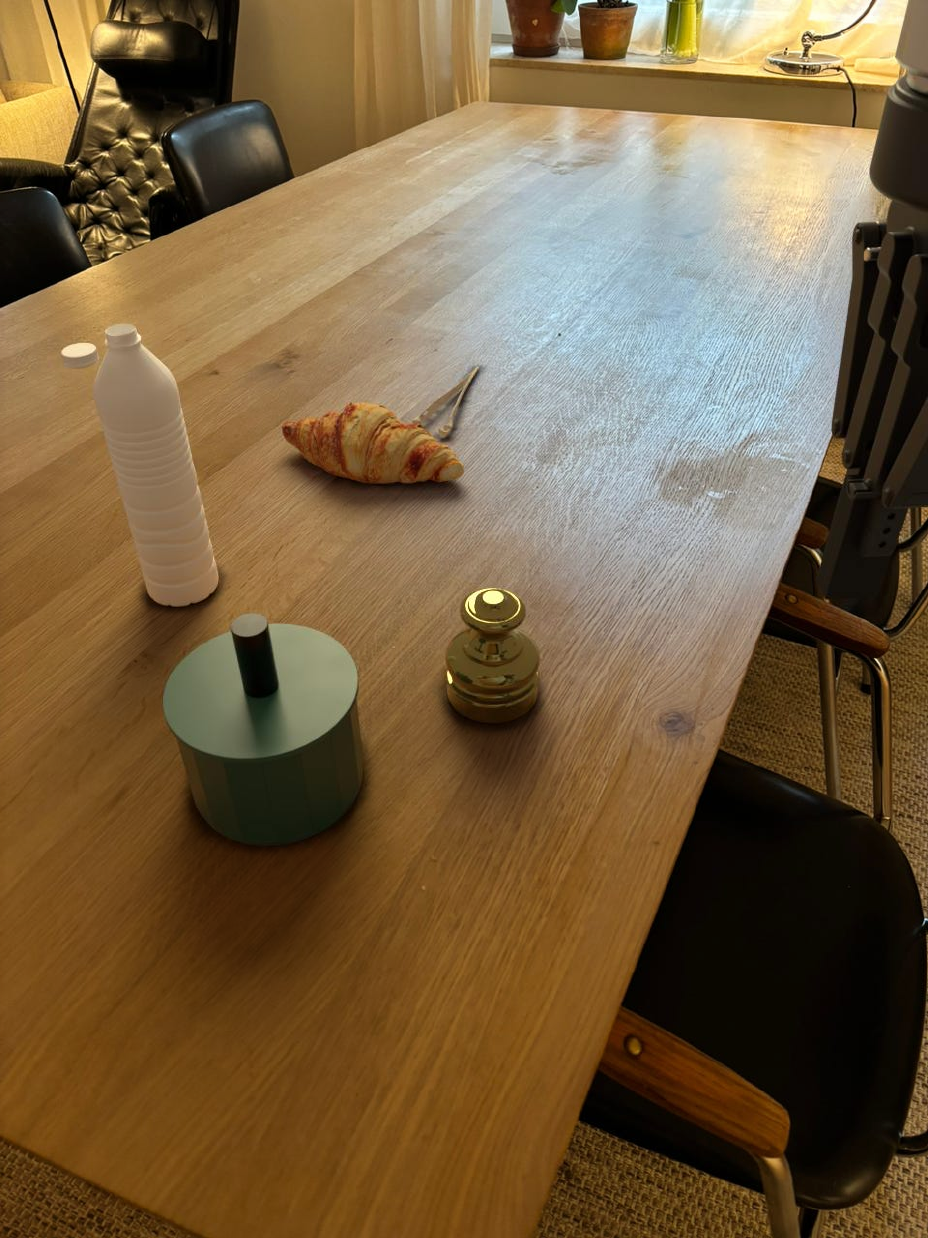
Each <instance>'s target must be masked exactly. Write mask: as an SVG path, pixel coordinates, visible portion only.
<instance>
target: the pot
mask: <svg viewBox="0 0 928 1238" xmlns="http://www.w3.org/2000/svg"><path fill="white" fill-rule="evenodd" d="M357 699H358V698H357ZM357 699H356V702H355V704H354V707H353V709H352V711H351V713H350V714H349V716H348V717H347V718H346V720H345V721H344V722H343V723H342V725H341V726H340V727H339V728H338V729H337V730H336V731H335V732H333V733H332V734H331V735H330V736H329V737H327V738H326V739H325V740H323V741H322V742H320V743H319V744H317V745H315V746H313V747H311V748H310V749H308V750H306V751H303V752H301V753H298V754H296V755H293V756H290V757H287V758H284V759H280V760H275V761H271V762H264V763H255V764H237V763H226V762H221V761H216V760H213V759H210V758H206V757H203V756H201V755H199V754H197V753H195V752H193V751H191V750H190V749H188V748H187V747H185V746H184V745H183V744H182V743H181V742H180V741H178V740H177V739H176V743H177V746H178V749H179V752H180V756H181V760H182V763H183V766H184V769H185V773H186V777H187V781H188V783H189V787H190V791H191V794H192V797H193V801H194V805H195V807H196V809H197V810H198V812H199V813H200V815H201V817H202V818H203V820H204V821H205V823H206V824H207V825H209V827H211V828H212V829H213V830H214V831H216V832H217V833H219V835H221V836H223V837H225V838H227V839H229V840H232V841H234V842H235V841H236V842H238V843H240V844H241V843H242V844H246V845H251V846H260V847H272V846H281V845H287V844H292V843H298V842H299V841H304V840H306V839H309V838H311V837H314V836H315V835H317V834H319V833H321V832H323V831H324V830H326V829H328V828H330V827H331V826H332V825H334V824H335V823H336V822H338V820H340V819H341V818H342V817H343V816H344V815H345V814H347V811H348V810H349V809H350V808H351V807H352V806H353V804H354V802H355V800H356V799H357V797H358V795H359V792H360V790H361V787H362V783H363V779H364V778H363V777H364V767H365V761H364V752H363V744H362V735H361V734H362V733H361V726H360V716H359V708H358V701H357Z"/></svg>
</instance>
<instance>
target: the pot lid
mask: <svg viewBox="0 0 928 1238" xmlns="http://www.w3.org/2000/svg"><path fill="white" fill-rule="evenodd" d="M359 687H360V682H359V672H358V668H357V665H356V662H355V660H354V658H353V656H352V655H351V653H350V652H349V651H348V649H346V648H345V646H344V645H342V643H340V642H339V641H338V640H337V639H335V638H334V637H332V636H330V635H329V634H326V632H323V631H320V630H317V629H315V628H311V627H309V626H305V625H299V624H293V623H283V622H281V623H280V622H279V623H278V622H275V623H269V621H268V619H267V618H266V617H265V616H264V615H263V614H261V613H255V612H248V613H244V614H240V615H239V616H237V617H235V618H234V619H233V620H232V622H231V623H230V630H229V631H227V632H223V633H221V634H219V635H216V636H215V637H212V638H210V639H209V640H207V641H205V642H203V643H201V644H200V645H199V646H197V647H196V648H195V649H193V650H191V651H190V652H189V653H188V654H187V655H186V656H184V658H182V660H181V661H179V662H178V664H177V665H176V666H175V667H174V669H173V670H172V672H171V673H170V675H169V677H168V679H167V681H166V684H165V687H164V689H163V693H162V700H161V701H162V702H161V703H162V711H163V715H164V720H165V723H166V725H167V727H168V729H169V731H170V732H171V733H172V735H173V736H174V738H175V739H176V741H177V740H178V741H180V742H181V743H182V744H183V745H184V746H185V747H187V748H188V749H190V750H191V751H193V752H195V753H197V754H199V755H201V756H203V757H206V758H210V759H213V760H216V761H221V762H226V763H237V764H255V763H264V762H271V761H275V760H280V759H284V758H287V757H290V756H293V755H296V754H298V753H301V752H303V751H306V750H308V749H310V748H311V747H313V746H315V745H317V744H319V743H320V742H322V741H323V740H325V739H326V738H327V737H329V736H330V735H331V734H332V733H333V732H335V731H336V730H337V729H338V728H339V727H340V726H341V725H342V723H343V722H344V721H345V720H346V718H347V717H348V716H349V714H350V713H351V711H352V709H353V707H354V704H355V702H356V699H358V695H359Z"/></svg>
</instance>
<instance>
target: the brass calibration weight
mask: <svg viewBox="0 0 928 1238" xmlns="http://www.w3.org/2000/svg"><path fill="white" fill-rule="evenodd" d="M526 607H527V606H526V603H525V602H524V600H523V598H522V597H520V596H519V595H518V594H516V593H515V592H514V591H511V590H509V589H505V588H500V587H485V588H481V589H477V590H474V591H472V592H471V593H469V594H468V595H466V596H465V597H464V598H463V600H462V601H461V604H460V607H459V616H460V618H461V620H462V622H463V623H464V624H465V626H467V627H466V628H464V629H462V630H460V631H459V632H458V633H457V634H455V635H454V636H453V637H452V639H451V640H450V641H449V642H448V644H447V646H446V650H445V655H444V661H445V667H446V669H445V681H446V692H447V693H446V694H447V698H448V701H449V703H450V705H451V706H452V708H453V709H455V710H456V711H457V712H458V713H459V714H460V715H462V716H464V717H466V718H468V719H469V720H473V721H475V722H478V723H479V722H480V723H484V724H500V723H507V722H511V721H514V720H516V719H518V718H521V717H523V715H525V714H527V713H528V712H529V711H530V710H531V709H532V707H534V705H535V704H536V701H537V699H538V692H539V683H540V682H539V681H540V671H539V667H540V664H541V652H540V648H539V646H538V645H537V643H536V641H535V640H534V638H533V637H532V636H530V635H529V634H528V633H527V632H526V631H524V630H522V629H521V628H519V627H520V626H521V625H522V624H523V623H524V621H525V619H526V616H527V608H526Z"/></svg>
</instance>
